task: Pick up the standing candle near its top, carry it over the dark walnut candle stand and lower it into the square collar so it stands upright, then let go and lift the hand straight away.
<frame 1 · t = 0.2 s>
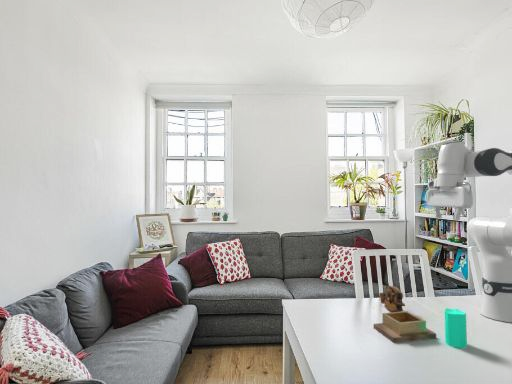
hand: (446, 219, 123), 39 cm above the table, tool pointing down, fingers open, 8 cm apart
wooden carving: (391, 310, 135), on the table
candle stand: (403, 332, 112), on the table
candle: (455, 344, 104), on the table
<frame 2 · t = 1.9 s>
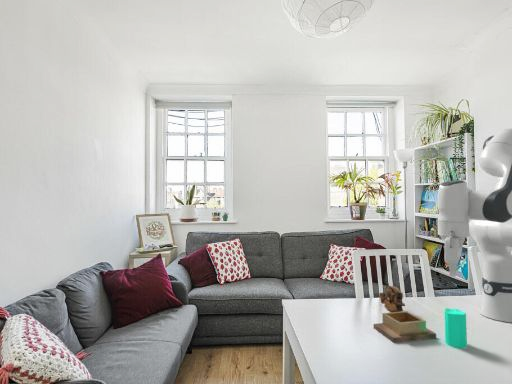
hand: (453, 273, 104), 23 cm above the table, tool pointing down, fingers open, 8 cm apart
nothing on the table moved.
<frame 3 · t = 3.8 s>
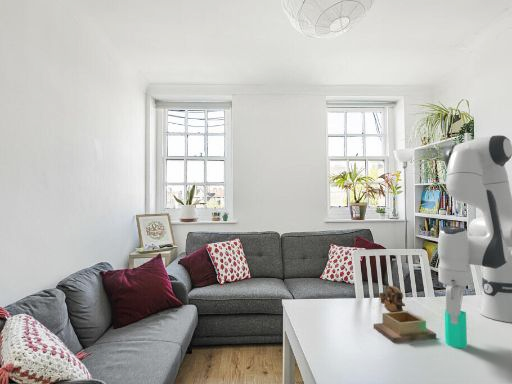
hand: (455, 320, 104), 8 cm above the table, tool pointing down, fingers closed on candle, 5 cm apart
candle: (455, 344, 104), on the table, touching gripper
everything else where it was.
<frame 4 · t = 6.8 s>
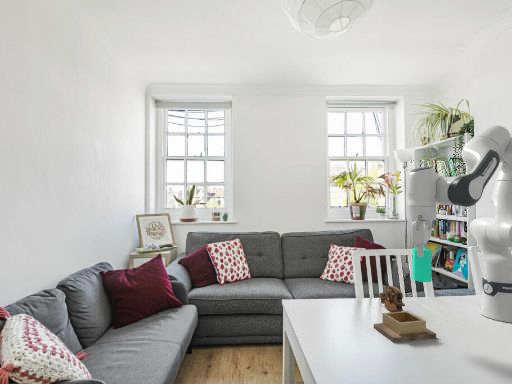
hand: (421, 255, 109), 28 cm above the table, tool pointing down, fingers closed on candle, 5 cm apart
candle: (421, 280, 109), point 19 cm above the table, touching gripper
everything else where it was.
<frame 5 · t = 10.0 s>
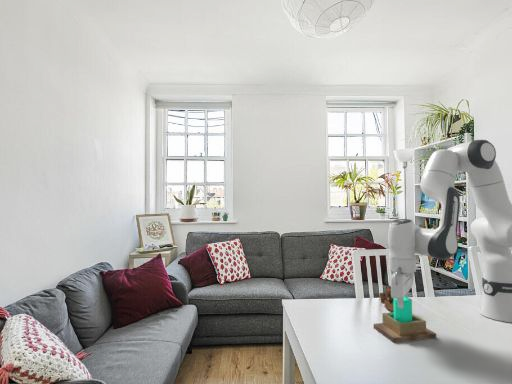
hand: (402, 305, 113), 10 cm above the table, tool pointing down, fingers closed on candle, 5 cm apart
candle: (403, 328, 113), point 1 cm above the table, touching candle stand, gripper
everything else where it was.
when the fingers open (10 cm above the table, at t = 10.0 s): candle stays where it is, resting on candle stand.
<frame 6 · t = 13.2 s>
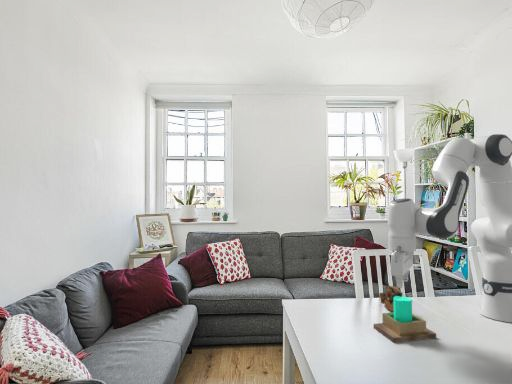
hand: (402, 284, 113), 17 cm above the table, tool pointing down, fingers open, 8 cm apart
candle: (403, 328, 113), point 1 cm above the table, touching candle stand
everything else where it was.
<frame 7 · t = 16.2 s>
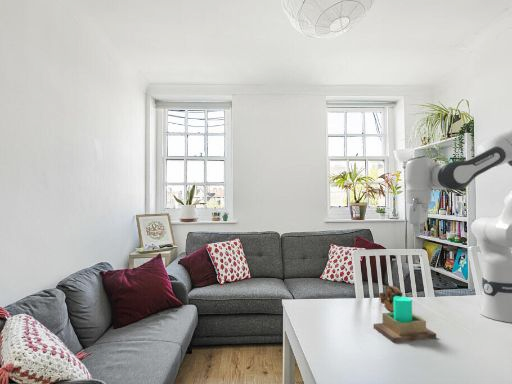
hand: (419, 234, 123), 33 cm above the table, tool pointing down, fingers open, 8 cm apart
nothing on the table moved.
at the end: candle 0.2 cm off-centre on the candle stand, point 1.3 cm above the candle stand's base; candle tilted 0°; the gripper is holding nothing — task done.
